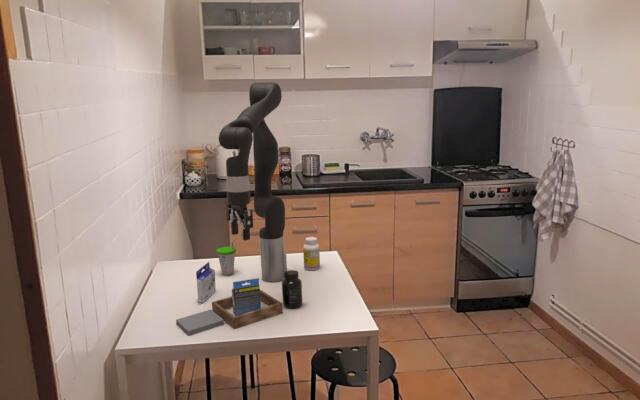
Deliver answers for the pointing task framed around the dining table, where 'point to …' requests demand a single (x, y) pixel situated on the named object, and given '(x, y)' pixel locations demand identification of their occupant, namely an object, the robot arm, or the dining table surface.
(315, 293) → the dining table surface
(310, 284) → the dining table surface
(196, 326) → the grey rectangular slab
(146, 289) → the dining table surface
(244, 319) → the bin
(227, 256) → the cup
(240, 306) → the blue product box
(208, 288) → the ink box
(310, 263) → the supplement bottle
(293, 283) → the supplement bottle
